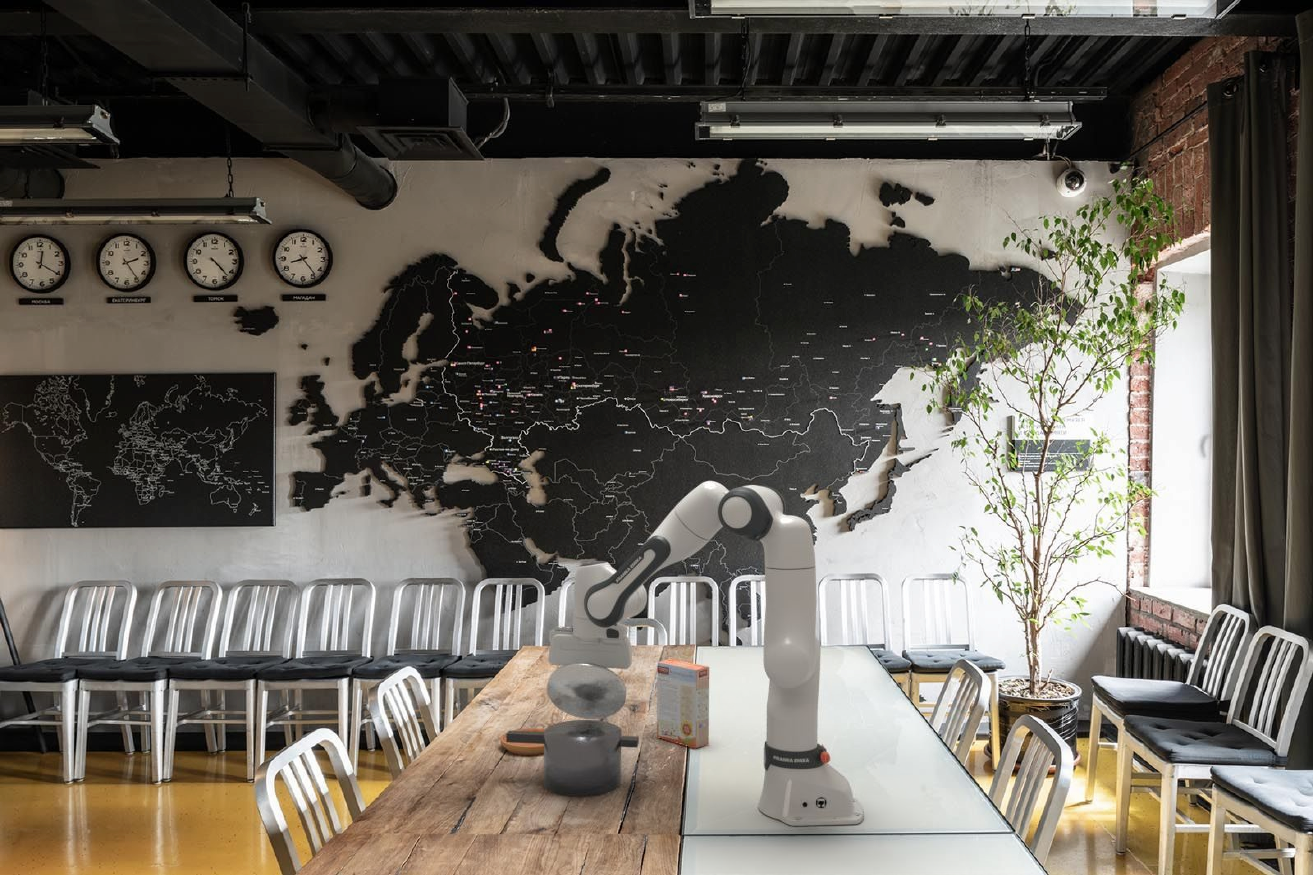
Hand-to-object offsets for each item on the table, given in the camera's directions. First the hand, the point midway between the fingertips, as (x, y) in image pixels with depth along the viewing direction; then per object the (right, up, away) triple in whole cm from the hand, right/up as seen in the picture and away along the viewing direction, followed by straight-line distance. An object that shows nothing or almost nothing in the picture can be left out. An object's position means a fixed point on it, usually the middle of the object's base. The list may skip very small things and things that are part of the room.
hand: (589, 684), depth 226 cm
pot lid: (0, -1, -4) cm, 4 cm away
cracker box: (+23, -22, +24) cm, 40 cm away
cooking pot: (-4, -21, -8) cm, 22 cm away
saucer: (-17, -22, +18) cm, 32 cm away
